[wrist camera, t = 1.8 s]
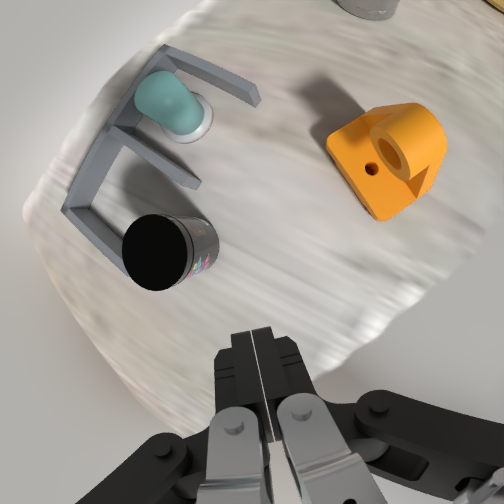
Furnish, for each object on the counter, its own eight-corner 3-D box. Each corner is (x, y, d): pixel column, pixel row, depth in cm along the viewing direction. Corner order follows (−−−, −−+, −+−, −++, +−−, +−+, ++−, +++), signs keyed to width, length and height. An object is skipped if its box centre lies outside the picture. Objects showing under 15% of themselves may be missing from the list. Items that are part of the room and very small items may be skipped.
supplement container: (163, 262, 36) (115, 276, 26) (176, 209, 35) (130, 205, 25) (212, 280, 35) (177, 302, 25) (228, 225, 34) (197, 226, 24)
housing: (261, 100, 32) (247, 63, 23) (146, 271, 36) (104, 284, 27) (176, 59, 33) (147, 26, 24) (80, 211, 37) (36, 210, 29)
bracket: (321, 145, 31) (330, 105, 20) (369, 115, 30) (396, 68, 18) (375, 224, 31) (413, 224, 19) (421, 191, 30) (472, 177, 18)
